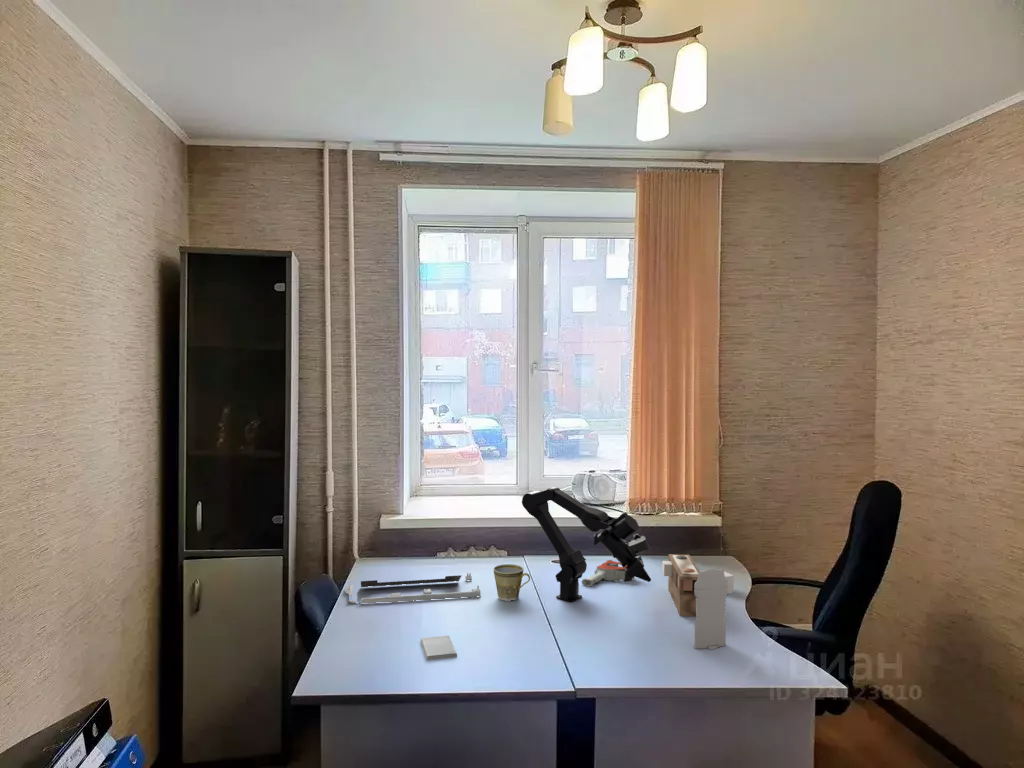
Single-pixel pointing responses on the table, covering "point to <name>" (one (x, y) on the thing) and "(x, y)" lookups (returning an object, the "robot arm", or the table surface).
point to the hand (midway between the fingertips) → (650, 580)
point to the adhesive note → (729, 581)
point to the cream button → (667, 568)
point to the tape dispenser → (607, 573)
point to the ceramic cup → (509, 581)
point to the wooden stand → (685, 571)
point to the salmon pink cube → (687, 585)
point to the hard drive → (438, 647)
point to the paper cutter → (425, 596)
